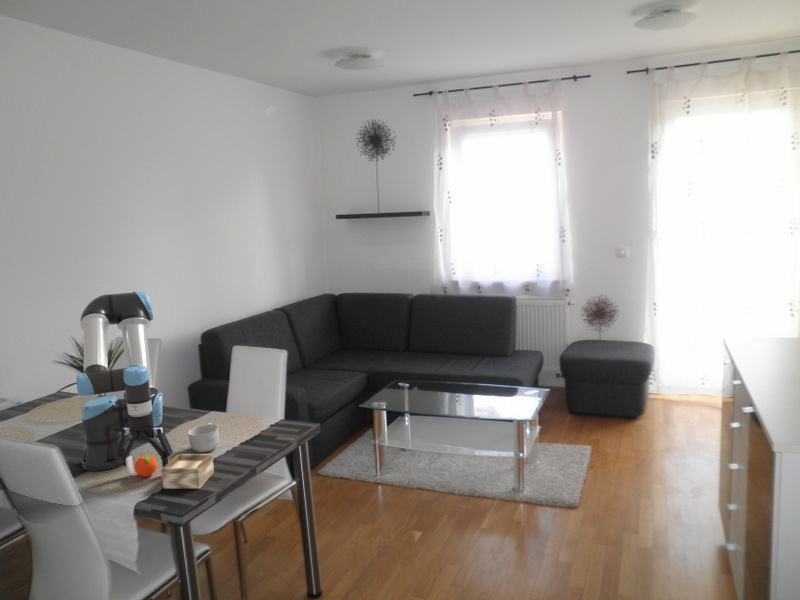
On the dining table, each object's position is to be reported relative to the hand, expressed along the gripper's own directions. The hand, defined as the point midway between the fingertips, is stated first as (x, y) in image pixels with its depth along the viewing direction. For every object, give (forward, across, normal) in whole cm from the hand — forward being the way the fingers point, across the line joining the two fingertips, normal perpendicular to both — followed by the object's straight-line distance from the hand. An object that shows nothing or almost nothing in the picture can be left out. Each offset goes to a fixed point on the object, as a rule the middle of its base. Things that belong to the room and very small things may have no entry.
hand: (147, 475), depth 211 cm
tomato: (0, 0, 0) cm, 0 cm away
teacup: (0, +11, +24) cm, 26 cm away
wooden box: (0, +16, -3) cm, 16 cm away
